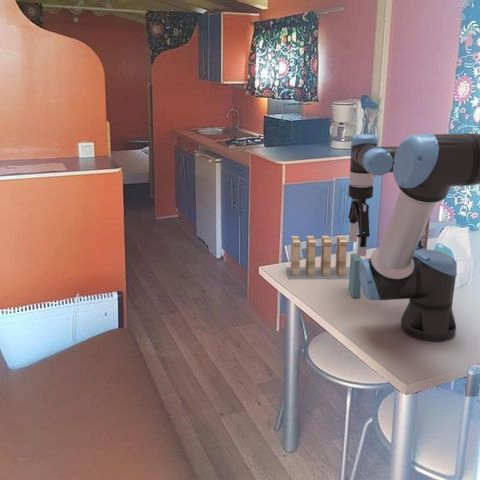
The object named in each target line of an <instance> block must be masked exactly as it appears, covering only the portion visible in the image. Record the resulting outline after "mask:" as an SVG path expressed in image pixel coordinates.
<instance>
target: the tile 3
mask: <svg viewBox="0 0 480 480" xmlns="http://www.w3.org/2000/svg"><path fill="white" fill-rule="evenodd" d="M332 243H333V242H332V240H331V238H330V236H329V235H322V236H321V249H320V254H321V255H320V266H319V267H320V270H321V272H322V275H323V276H330V267H331V262H332V261H331V260H332Z"/></svg>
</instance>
